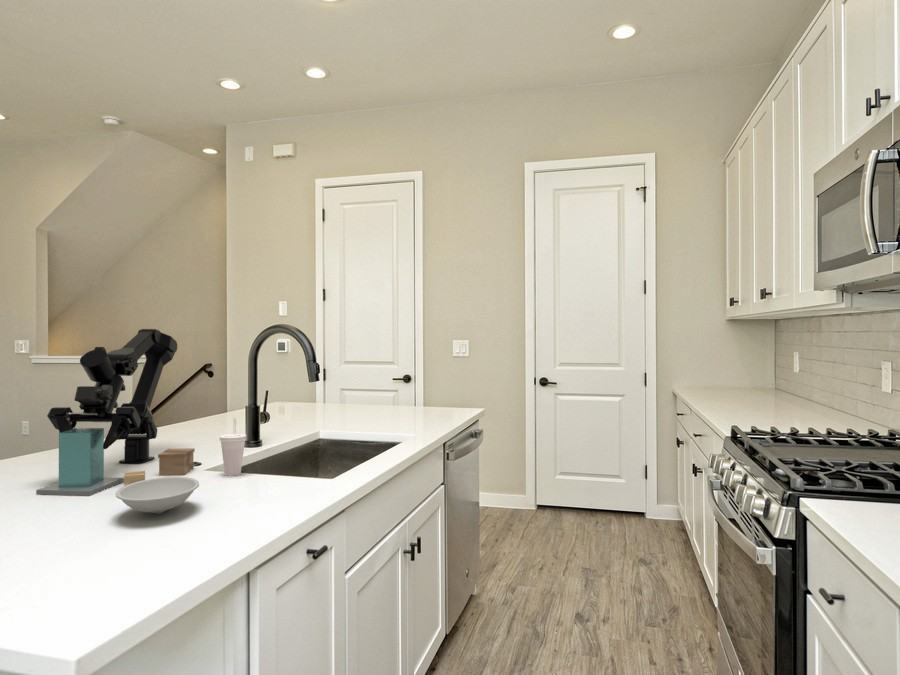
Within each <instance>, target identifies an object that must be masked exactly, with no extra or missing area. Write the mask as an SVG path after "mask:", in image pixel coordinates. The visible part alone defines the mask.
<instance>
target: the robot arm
mask: <svg viewBox="0 0 900 675" xmlns="http://www.w3.org/2000/svg"><path fill="white" fill-rule="evenodd" d="M177 350H178V342H177V341H176V340H175V339H174V337H173V336H171V335H169V334H166V333H163V332H161V331H160V330H159V329H156V328H141V329H139V330H138V331H137V334H136V335H135V336H133V337H132V338H131V339H130V340H129V341H128V342H127V343H126V344H125V345H123V346H122V347H121V348H118V349H113V350H111V351H108V352H107V350H106V348H105V347H104V346H95V347H94V349H93V350H90V351H87V352H86V353H84V354H83V355H82V356H81V357H80V359H79V363H80V365H81V366H82V368H83V370H84V372H85V373H86V376H87V377H88V378H89V380H90V381H92V382H95V385H93V386H91V385H89V386H85V385H84V386H83V385H82V386H77V387H76V391H75V395H74V401H75V402H77V403H79V409H80V410H82V411H83V412H74V411H73V410H72V408H71V407H70V406H66V407H65V406H64V407H61V406H60V407H58V406H57V407H55V406H54V407H51V408H50V409H49V411H48V412H47V418H48V420H49V421H50V422H51V424H52V425H53V427H54V429H56V430H58V434H59V433H61V432H64V431H67V430H71V429H74V428H76V426H77V424H78V422H79V423H86V422H87V423H88V422H91V423H111V424H110V427H109V430H108V431H107V433H106V434H107V435H106V436H105V438H104V445H103V448H104V450H107V449H108V448H109V447H110V446H112V445H113V444H114V443H115V442H117V441H119V440H124V447H123V448H124V452H123V453H124V454H123V455H124V458H123V459H121V460H119V461H118V463H120V464H121V463H122V464H144V463H146V462H149V461H151V460H154V459H155V456H150V440H153V439H156V438H157V435H158V428H157V426H156V424H155V421H154V420H153V419H154V416H153V414H152V410H151V405H152V402H153V399H154V396H155V394H156V389H157V387H158V385H159V380H160V378H161V374H162V372H163V370H164V366H166V365H167V364H168V363H169V362H171V361H172V360H173V359H174V356H175V354H176V352H177ZM143 356H145V359H146V360H145V363H144V365H143V368H142V371H141V374H140V376H139V379H138V383H137V385H136V388H135V390H134V392H133V395H132V399H131V401H130V402H129V403H127V402H126V403H122V404H121V406H119V403H118V402H117V401H118V398H119V396H120V394H121V392H124V391H126V385H125V380H124V378H123V377H131V376H133V375H134V374H135V372H136V370H137V369H138V367H139V364H138V361H139V359H140V358H141V357H143ZM114 409H115V411H114ZM113 411H114V412H115V413H114V412H113Z"/></svg>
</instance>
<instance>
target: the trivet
mask: <svg viewBox="0 0 900 675" xmlns="http://www.w3.org/2000/svg"><path fill="white" fill-rule="evenodd" d="M119 483H120V484H122V483H124V477H112V476H111V477H109V476H108V477H107V476H104V480H102V481H100V482H99V483H97V484H95V485H93V486H91V487H65V488H59V481H58V482H55V483H52V484H50V485H47V486H44V487H40V488H38V489H36V491H35V493H36V494H46V495H45V496H73V495H76V496H79V495H80V496H81V497H91V496H92V495H95V493H96V494H98V493H101V492H102V490H103V491H105V490H107V488H108V489H110V488H112V486H113V487H115V486H118V485H120V484H119ZM104 489H105V490H104ZM97 492H98V493H97ZM90 495H91V496H90ZM80 496H79V497H80Z"/></svg>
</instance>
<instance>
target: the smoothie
mask: <svg viewBox="0 0 900 675" xmlns="http://www.w3.org/2000/svg"><path fill="white" fill-rule="evenodd" d="M246 440H247V434H246V433H237V418H236V417H234V418H233V433H225V434H221V435H219V442H220V445H221V453H222V461H223V469H224V475H225V474H226V475H236V476H240V475H241V474H242V473H241V472H242V466H243V460H244V459H243V458H244V452H245V442H246ZM226 475H225V476H226Z"/></svg>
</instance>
